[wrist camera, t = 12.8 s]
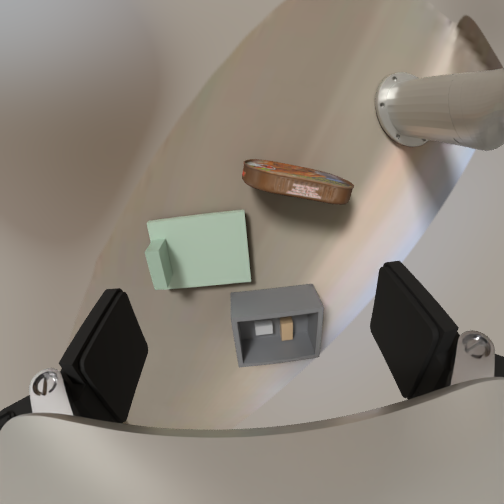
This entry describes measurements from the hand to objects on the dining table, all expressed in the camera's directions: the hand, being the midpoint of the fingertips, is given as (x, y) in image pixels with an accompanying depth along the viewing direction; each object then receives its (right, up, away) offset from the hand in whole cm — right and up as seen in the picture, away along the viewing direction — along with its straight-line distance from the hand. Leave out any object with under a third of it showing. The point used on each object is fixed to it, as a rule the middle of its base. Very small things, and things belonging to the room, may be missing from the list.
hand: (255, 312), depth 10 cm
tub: (+4, -9, +40) cm, 41 cm away
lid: (-8, +3, +34) cm, 35 cm away
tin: (+6, +13, +30) cm, 33 cm away
